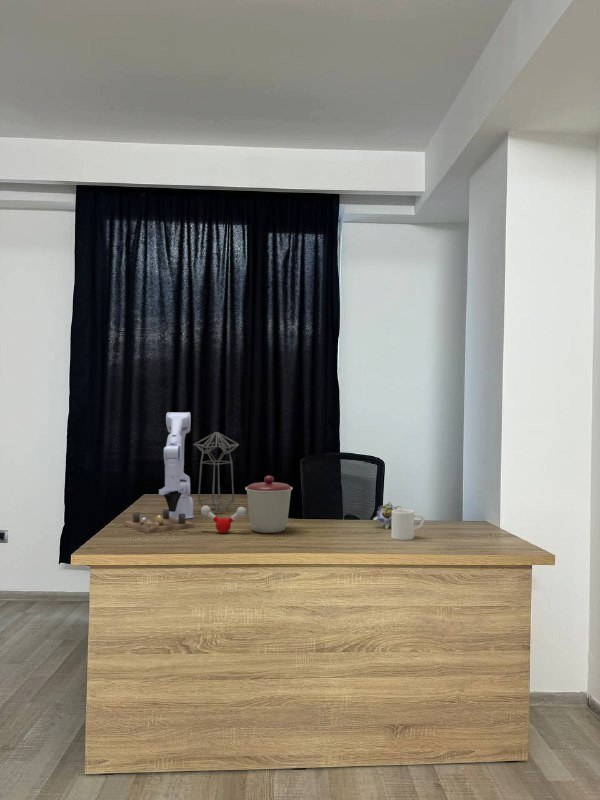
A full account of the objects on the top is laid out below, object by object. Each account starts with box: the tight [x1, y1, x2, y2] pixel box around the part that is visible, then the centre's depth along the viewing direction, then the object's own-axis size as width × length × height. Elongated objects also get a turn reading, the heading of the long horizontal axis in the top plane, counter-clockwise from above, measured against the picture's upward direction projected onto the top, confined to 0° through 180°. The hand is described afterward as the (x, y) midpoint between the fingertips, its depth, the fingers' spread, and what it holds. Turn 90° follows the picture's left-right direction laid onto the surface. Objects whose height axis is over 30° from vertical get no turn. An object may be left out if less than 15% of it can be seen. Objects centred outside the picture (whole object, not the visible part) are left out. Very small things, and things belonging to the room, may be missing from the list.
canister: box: [244, 475, 293, 534], centre depth 279 cm, size 18×18×21 cm
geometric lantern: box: [192, 431, 240, 514], centre depth 322 cm, size 16×16×35 cm
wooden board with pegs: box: [123, 508, 195, 534], centre depth 287 cm, size 20×20×5 cm
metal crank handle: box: [140, 514, 163, 525], centre depth 282 cm, size 9×3×3 cm, turn 78°
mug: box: [390, 508, 426, 541], centre depth 267 cm, size 8×12×10 cm, turn 82°
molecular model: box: [200, 505, 248, 534], centre depth 275 cm, size 18×6×10 cm, turn 79°
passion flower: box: [372, 501, 402, 530], centre depth 288 cm, size 11×11×12 cm
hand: (172, 511), depth 284 cm, fingers closed
